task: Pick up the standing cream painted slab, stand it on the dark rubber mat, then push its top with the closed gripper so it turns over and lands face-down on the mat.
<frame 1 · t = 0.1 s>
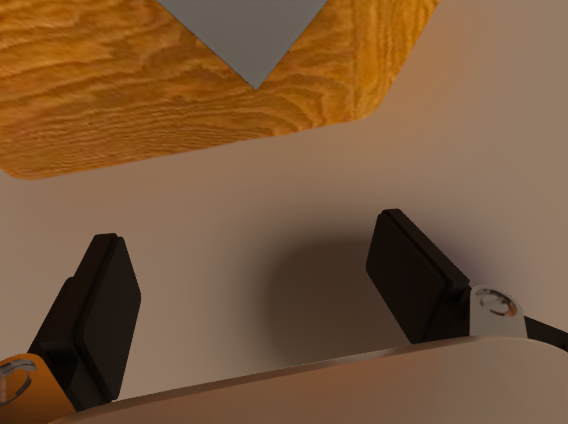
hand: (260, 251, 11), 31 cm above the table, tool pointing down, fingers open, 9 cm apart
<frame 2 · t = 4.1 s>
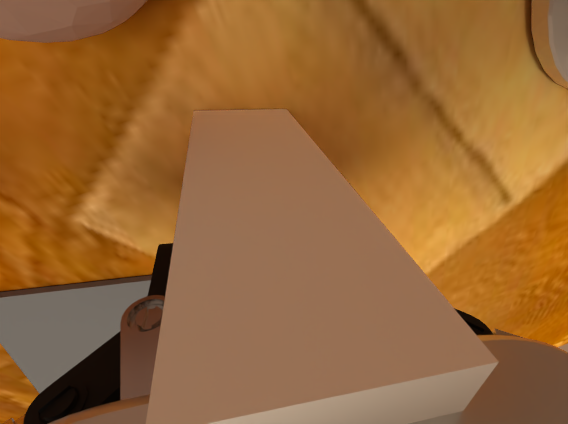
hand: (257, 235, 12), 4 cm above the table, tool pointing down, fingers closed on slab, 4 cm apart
slab: (244, 190, 15), on the table, touching gripper
mat: (181, 356, 21), on the table
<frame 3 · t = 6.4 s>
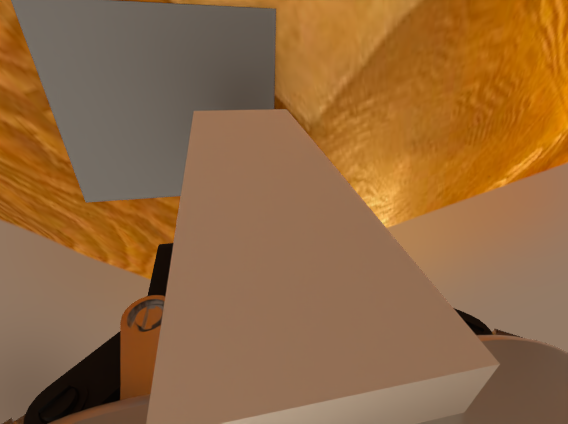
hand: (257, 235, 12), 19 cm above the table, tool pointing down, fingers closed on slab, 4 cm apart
slab: (244, 191, 15), point 15 cm above the table, touching gripper
mat: (171, 113, 26), on the table
when the fingers open (5 cm above the table, at t = 9.1 s): slab stays where it is, resting on mat.
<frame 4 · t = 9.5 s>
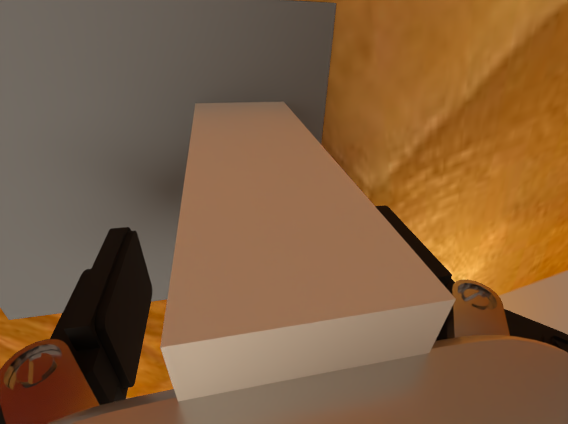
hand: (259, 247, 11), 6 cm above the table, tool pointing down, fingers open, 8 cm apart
slab: (244, 180, 16), resting on mat
mat: (146, 184, 15), on the table
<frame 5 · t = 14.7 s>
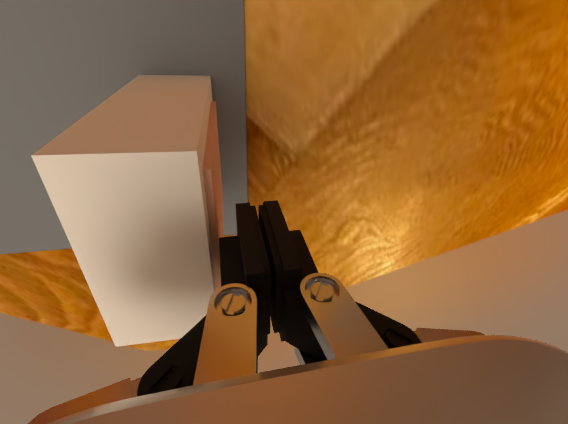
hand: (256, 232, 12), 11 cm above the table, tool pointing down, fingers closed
slab: (184, 140, 20), resting on mat, touching gripper
mat: (105, 141, 19), on the table
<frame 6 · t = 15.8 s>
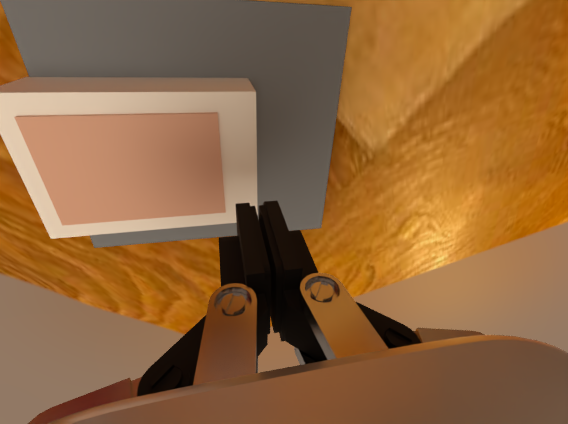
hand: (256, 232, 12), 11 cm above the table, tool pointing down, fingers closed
slab: (252, 151, 19), point 2 cm above the table, tilted 90°, touching mat
mat: (206, 140, 21), on the table
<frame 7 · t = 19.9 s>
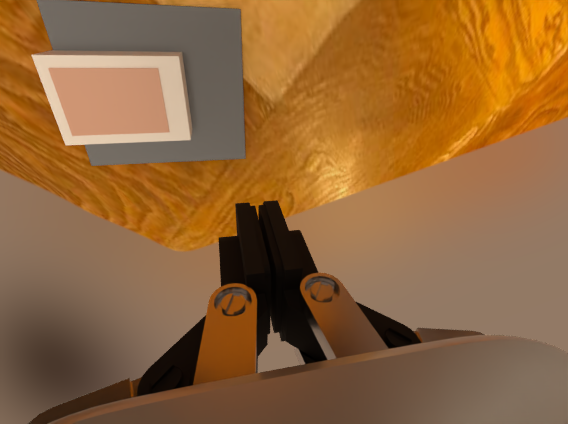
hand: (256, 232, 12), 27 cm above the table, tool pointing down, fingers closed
slab: (186, 96, 32), point 2 cm above the table, tilted 90°, touching mat
mat: (160, 92, 33), on the table
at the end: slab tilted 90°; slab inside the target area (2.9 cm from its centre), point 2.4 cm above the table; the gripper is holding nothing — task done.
